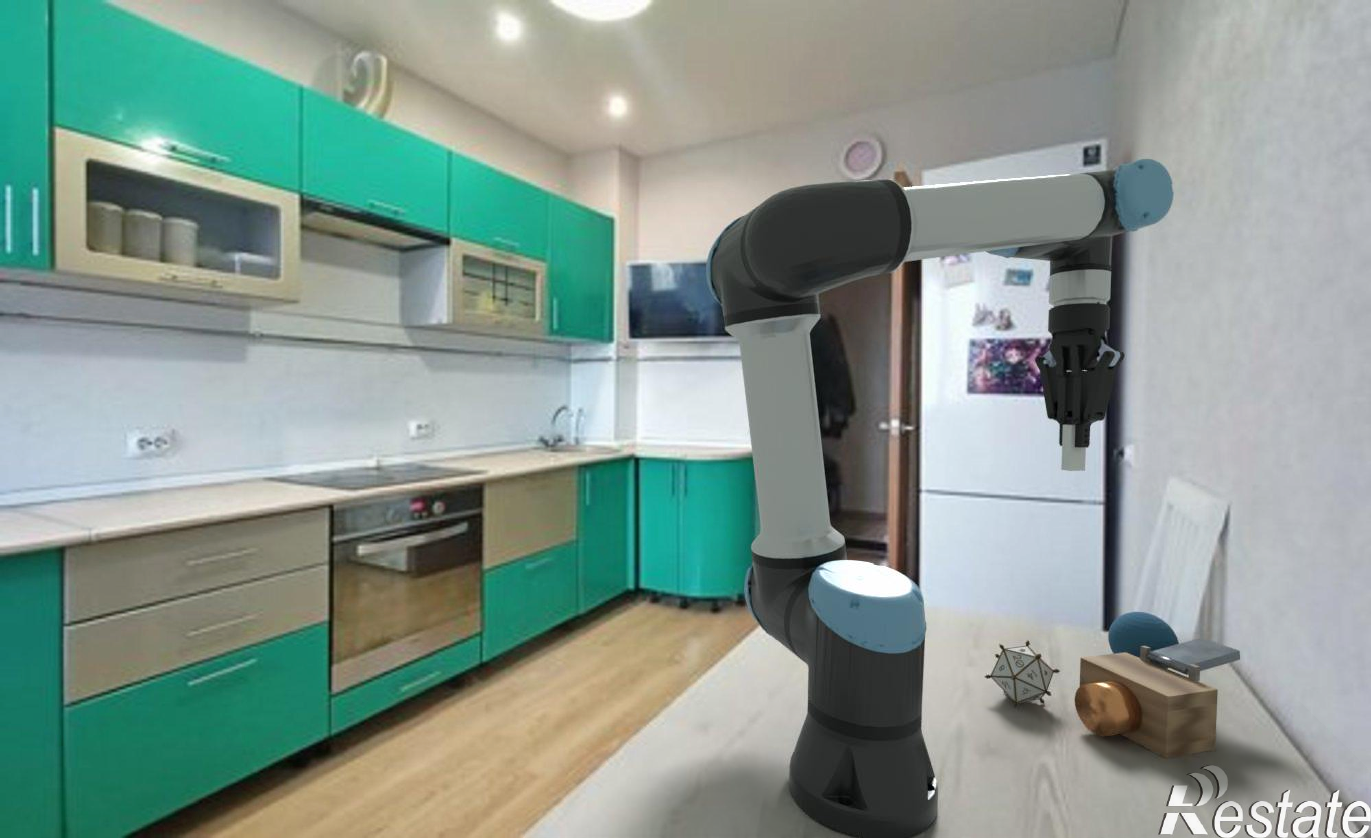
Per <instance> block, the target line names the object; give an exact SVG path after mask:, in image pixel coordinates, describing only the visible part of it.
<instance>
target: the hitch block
mask: <svg viewBox="0 0 1371 838" xmlns="http://www.w3.org/2000/svg"><path fill="white" fill-rule="evenodd" d="M1149 652H1151V648H1150V647H1147V646H1141V649H1140V658H1139V657H1136V656H1134V655H1131V654H1129V653H1126V652H1125V653H1116V654H1113V653H1110V654H1108V653H1107V654H1100V655H1092V656H1084V657H1083V656H1082V657H1080V661H1079V662H1080V667H1079V669H1080V670H1079V687H1080V686H1082V685H1085V684H1091V683H1099V682H1106V681H1117V682H1120V683H1122V684H1124V685H1125V686H1127V687H1128V688H1129V689H1130V690H1131V691H1132V692H1133V693H1134V695H1135V696H1136V698H1137V699H1138V701H1139V704H1140V706H1141V710H1142V722H1141V725H1140V727H1139V728H1138V729H1137V730H1135V731H1133V732H1128V733H1122V734H1121V735H1122V736H1124V737H1126V739H1129V740H1131V741H1133V742H1135V743H1136V744H1139V745H1140V746H1142V747H1144V748H1146V749H1147V750H1149V751H1152V752H1153V753H1154V754H1157V755H1159V756H1160V757H1162V758H1164V759H1170V758H1175V757H1180V756H1181V757H1182V756H1187V755H1193V754H1197V753H1203V752H1207V751H1208V752H1209V751H1214V750H1216V744H1217V743H1216V741H1217V738H1216V737H1217V716H1218V694H1219V693H1218V691H1219V690H1218V689H1217V688H1215V687H1212V686H1209V685H1208V684H1206V683H1203V682H1200V679H1201V671H1200V666H1197V665H1194V664H1191V665H1189V675H1183V674H1182V673H1181V674H1180V673H1179V672H1177V671H1174V670H1172V669H1169V668H1168V669H1166V668H1163V667H1161V666H1158V665H1156V664H1153V663H1151V662H1149V661H1150V660H1149V659H1148V654H1149Z"/></svg>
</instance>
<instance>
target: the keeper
mask: <svg viewBox="0 0 1371 838" xmlns="http://www.w3.org/2000/svg"><path fill="white" fill-rule="evenodd" d="M1148 659H1149V660H1151V661H1153V662H1156V663H1158V664H1161V665H1163V666H1166V667H1168V669H1170V670H1172V671H1175V672H1177V673H1181V674H1182V675H1183V674H1184V675H1185V676H1188V675H1189V665H1191V664H1194V665H1197V666H1200V672H1203V671H1205V670H1209V669H1212V668H1216V667H1221V666H1223V665H1226V664H1231V663H1234V662H1237V661H1241V651H1240V650H1239V649H1236V648H1232V647H1230V646H1227V645H1224V644H1221V643H1219V642H1215V641H1213V640H1210V639H1206V638H1203V637H1199V638H1195V639H1192V640H1189V641H1185V642H1180V643H1179V644H1177V645H1173V646H1169V647H1165V648H1162V649H1158V650H1154V651H1151V652H1149V654H1148Z"/></svg>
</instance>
